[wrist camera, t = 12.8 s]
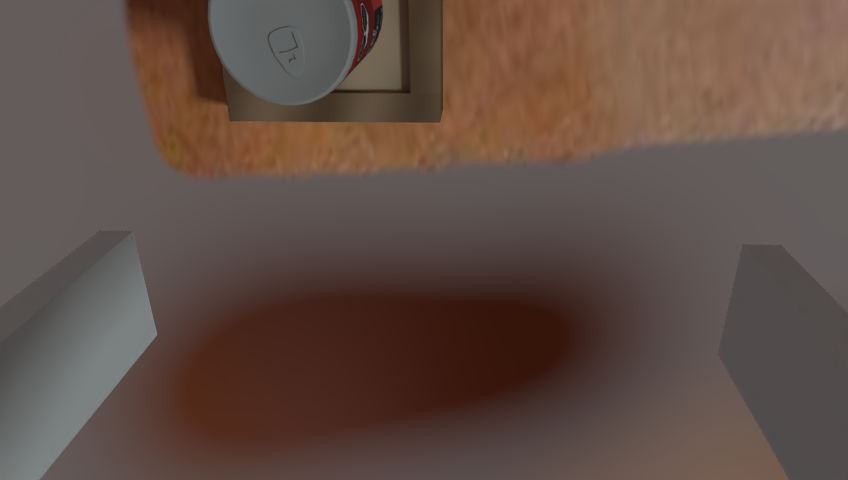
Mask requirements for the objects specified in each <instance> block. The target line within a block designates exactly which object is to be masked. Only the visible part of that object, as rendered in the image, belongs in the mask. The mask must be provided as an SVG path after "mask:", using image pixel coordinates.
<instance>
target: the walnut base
mask: <svg viewBox="0 0 848 480" xmlns="http://www.w3.org/2000/svg"><path fill="white" fill-rule="evenodd" d="M382 5H383V20H382V26H381V31H380V34H379V37H378V39H377V41H376V43H375V45H374V47H373V48H372V50H371V51H370V52H369V53H368V54H367V56H366V57H365V58H364V59H363V60H362V61H361V62H360V63H359V64H358V65H357V66H356V68H355V69H354V70H353V71H352V72H351V73H350V74H349V75H348V76H347V77H346V78H345V79H344V81H343V82H342V83H341V84H340V85H339V86H337V87H336V88H335V89H334V90H333V91H331V92H330V93H329V94H327V95H326V96H324V97H322V98H320V99H318V100H315V101H313V102H310V103H307V104H301V105H280V104H276V103H272V102H268V101H266V100H264V99H261V98H259V97H257V96H255V95H253V94H252V93H250V92H249V91H248V90H246V89H245V88H243V87H242V86H241V85H240V84H239V83H238V82H237V81H236V80H235V79H234V78H233V77H232V76H231V75H230V74H229V72H228V71H227V70H226V68H225V67H224V65H223V64H222V62H221V66H222V72H223V79H224V86H225V92H226V99H227V106H228V112H229V119H230V121H298V122H440V120H441V115H442V110H443V0H382Z"/></svg>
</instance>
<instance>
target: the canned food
mask: <svg viewBox="0 0 848 480" xmlns="http://www.w3.org/2000/svg"><path fill="white" fill-rule="evenodd" d="M382 20H383V5H382V0H209V1H208V24H209V31H210V36H211V39H212V42H213V45H214V48H215V51H216V53H217V55H218V56H219V58H220V60H221V62H222V64H223V65H224V67H225V68H226V70H227V71H228V72H229V74H230V75H231V76H232V77H233V78H234V79H235V80H236V81H237V82H238V83H239V84H240V85H241V86H242V87H243V88H245V89H246V90H248V91H249V92H250V93H252V94H253V95H255V96H257V97H259V98H261V99H264V100H266V101H268V102H272V103H276V104H280V105H301V104H307V103H310V102H313V101H315V100H318V99H320V98H322V97H324V96H326V95H327V94H329V93H330V92H331V91H333V90H334V89H335V88H336V87H337V86H339V85H340V84H341V83H342V82H343V81H344V79H345V78H346V77H347V76H348V75H349V74H350V73H351V72H352V71H353V70H354V69H355V68H356V66H357V65H358V64H359V63H360V62H361V61H362V60H363V59H364V58H365V57H366V56H367V54H368V53H369V52H370V51H371V50H372V48H373V47H374V45H375V43H376V41H377V39H378V37H379V34H380V31H381V26H382Z"/></svg>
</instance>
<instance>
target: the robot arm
mask: <svg viewBox="0 0 848 480" xmlns="http://www.w3.org/2000/svg"><path fill="white" fill-rule="evenodd" d="M156 336H157V332H156V328H155V324H154V320H153V316H152V311H151V308H150V303H149V299H148V294H147V290H146V286H145V281H144V277H143V273H142V269H141V265H140V261H139V256H138V252H137V248H136V244H135V239H134V235H133V232H132V231H99V232H98V233H96V234H95V235H94V236H92V237H91V238H90V239H89V240H87V241H86V242H85V243H83V244H82V245H81V246H79V247H78V248H77V249H76V250H74V251H73V252H72V253H70V254H69V255H68V256H66V257H65V258H64V259H62V260H61V261H60V262H59V263H57V264H56V265H55V266H53V267H52V268H51V269H49V270H48V271H47V272H46V273H44V274H43V275H42V276H40V277H39V278H38V279H36V280H35V281H34V282H33V283H31V284H30V285H29V286H27V287H26V288H25V289H23V290H22V291H21V292H20V293H18V294H17V295H16V296H14V297H13V298H12V299H11V300H9V301H8V302H7V303H5V304H4V305H3V306H2V307H0V480H40V478H41V477H42V476H43V475H44V473H45V472H46V471H47V470H48V468H49V467H50V466H51V465H52V464H53V462H54V461H55V460H56V459H57V457H58V456H59V455H60V454H61V452H62V451H63V450H64V449H65V448H66V446H67V445H68V444H69V443H70V441H71V440H72V439H73V438H74V436H75V435H76V434H77V433H78V432H79V430H80V429H81V428H82V427H83V425H84V424H85V423H86V422H87V420H88V419H89V418H90V417H91V415H92V414H93V413H94V412H95V411H96V409H97V408H98V407H99V406H100V404H101V403H102V402H103V401H104V400H105V398H106V397H107V396H108V395H109V393H110V392H111V391H112V390H113V388H114V387H115V386H116V385H117V384H118V382H119V381H120V380H121V379H122V377H123V376H124V375H125V373H126V372H127V371H128V370H129V369H130V367H131V366H132V365H133V364H134V362H135V361H136V360H137V359H138V358H139V357H140V355H141V354H142V353H143V352H144V350H145V349H146V348H147V347H148V345H149V344H150V343H151V342H152V341H153V339H154V338H155V337H156ZM718 355H719V357H720V359H721V361H722V363H723V364H724V366H725V368H726V369H727V371H728V373H729V375H730V377H731V378H732V380H733V382H734V384H735V385H736V387H737V389H738V391H739V392H740V394H741V396H742V398H743V399H744V401H745V403H746V405H747V406H748V408H749V410H750V412H751V413H752V415H753V417H754V419H755V420H756V422H757V424H758V426H759V427H760V429H761V431H762V433H763V434H764V436H765V438H766V440H767V441H768V443H769V445H770V446H771V448H772V450H773V452H774V454H775V455H776V457H777V459H778V461H779V462H780V464H781V466H782V467H783V469H784V471H785V473H786V475H787V476H788V478H789V480H848V313H847V312H846V311H845V310H844V309H843V308H842V307H841V306H840V305H839V304H838V303H837V301H835V299H833V297H832V296H831V295H830V294H829V293H828V292H827V291H826V290H825V289H824V288H823V287H822V286H821V285H820V284H819V283H818V282H817V281H816V280H815V279H814V278H813V277H812V276H811V275H810V274H809V273H808V272H807V271H806V270H805V269H804V268H803V267H802V266H801V265H800V264H799V263H798V262H797V261H796V260H795V259H794V258H793V257H792V256H791V255H790V254H789V253H788V252H787V251H786V250H785V248H783V246H781V245H747V244H743V245H742V250H741V254H740V259H739V263H738V267H737V272H736V276H735V281H734V285H733V289H732V294H731V298H730V303H729V307H728V311H727V316H726V320H725V325H724V329H723V333H722V338H721V342H720V347H719V351H718Z"/></svg>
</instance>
